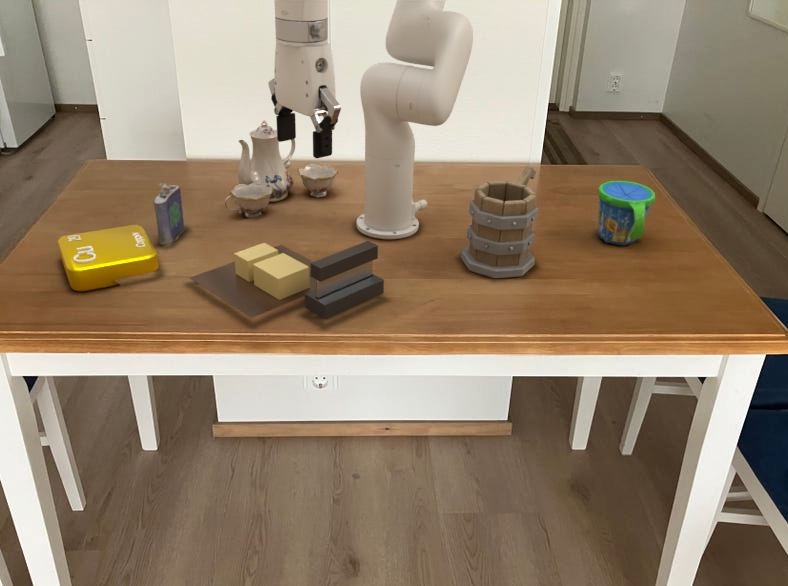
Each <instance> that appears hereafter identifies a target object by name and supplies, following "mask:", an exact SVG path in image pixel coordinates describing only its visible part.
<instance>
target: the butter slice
mask: <svg viewBox="0 0 788 586" xmlns="http://www.w3.org/2000/svg"><path fill="white" fill-rule="evenodd" d="M276 255H278V250H277V249H275V248H274V247H273V246H272V245H270V244H268V243H266V242H263V243H259V244H257V245H254V246H251V247H248V248H246V249H242V250H239V251H237V252H234V253H233V257H234V258H233V259H234V262H235V270H236V274H237V275H239V276H240V277H242V278H244V279H245V280H247V281H249V282H250V281H253V280H254V274H253V264H255V263H257V262H260V261H263V260H265V259H268V258H271V257H274V256H276Z"/></svg>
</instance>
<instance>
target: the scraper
mask: <svg viewBox="0 0 788 586" xmlns="http://www.w3.org/2000/svg"><path fill="white" fill-rule="evenodd" d="M377 259H379V245H378V244H376V243H374V242H371V241H370V240H366V241H364V242H361V243H359V244H356V245H353V246H350V247H348V248H346V249H343V250H340V251H338V252H335V253H333V254H330V255H327V256H325V257H322V258H319V259H317V260H314V261H313V262H312V263H310V267H311V277H313V278H314V279H316V299H321V298H323V297H325V296H328V295H330V294H332V293H335V292H337V291H339V290H342V289H344V288H347V287H349V286H351V285H354V284H356V283H358V282H361V281H363V280H365V279H368V278H370V277H372V274H373V261H375V260H377Z"/></svg>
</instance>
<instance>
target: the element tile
mask: <svg viewBox="0 0 788 586" xmlns="http://www.w3.org/2000/svg"><path fill="white" fill-rule="evenodd" d="M57 245H58V248H59V254H60V257H61V262H62V264H63V267H64V268H63V269H64V272H65V274H66V277H67V279H68V282H69V286H70V288H71V289H72V290H74V291H75V292H89V291H93V290H94V291H95V290H99V289H105V288H111V287H117V286H120V285H121V284H120V283H118V282H117V281H116V280H117V279H123V278H127V277H133V276H139V275H144V274H149V273H153V272H155V271H158V269H159V267H160V265H159V260H158V253H157V251H156V249H155V247H154V245H153V243H152V242H151V240H150V238H149V236H148V235H147V233H146V231H145V229H144V228H143V227H142V226H140V225H138V224H130V225H123V226H117V227H111V228H105V229H104V228H103V229H98V230H97V229H96V230H91V231H86V232H85V231H84V232H78V233H72V234H66V235H63V236H61V237H60V238H59V239H58V240H57Z"/></svg>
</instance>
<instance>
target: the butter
mask: <svg viewBox="0 0 788 586" xmlns="http://www.w3.org/2000/svg"><path fill="white" fill-rule="evenodd" d="M253 274H254V285H255V286H257V287H259V288H260V289H262V290H264V291H265V292H267V293H269V294H270V295H272V296H274V297H275V298H277V299H279V300H281V299H283V298H286V297H288V296H291V295H293V294H296V293H298V292H300V291H303V290H305V289H308V288H310V281H309V267H308V266H307V265H305V264H303V263H301V262H299V261H297V260H295V259H294V258H292V257H290V256H288V255H286V254H284V253H282V254H279V255H276V256H274V257H271V258H268V259H265V260H263V261H260V262H257V263H255V264H253Z"/></svg>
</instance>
